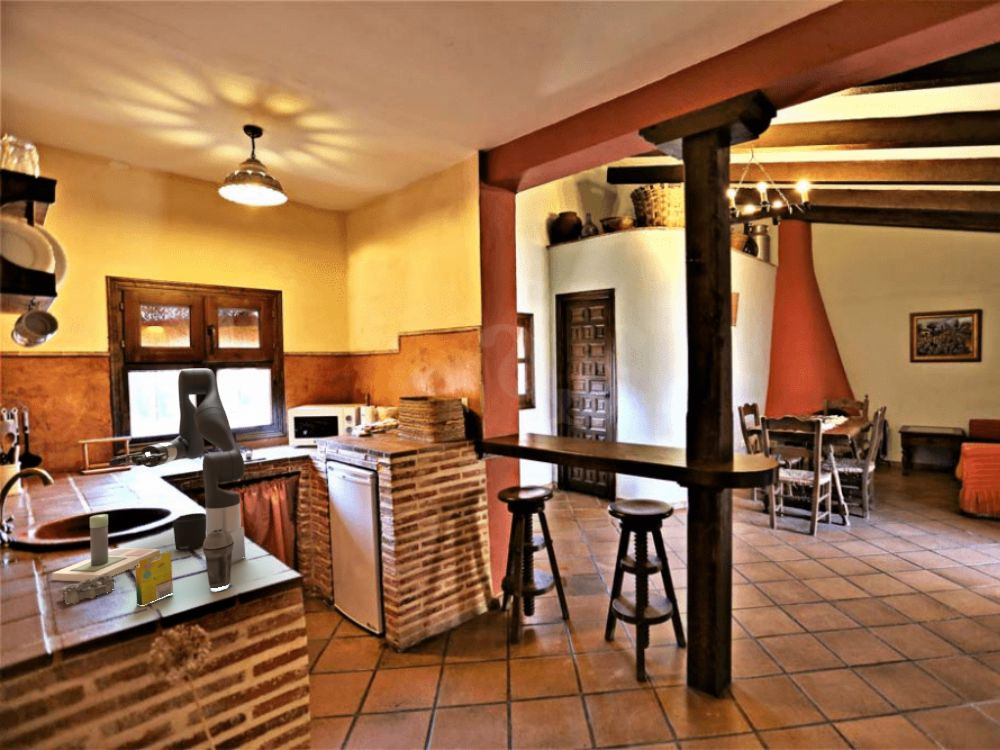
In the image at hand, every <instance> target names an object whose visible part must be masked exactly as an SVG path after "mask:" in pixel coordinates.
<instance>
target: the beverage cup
mask: <svg viewBox="0 0 1000 750" xmlns="http://www.w3.org/2000/svg"><path fill="white" fill-rule="evenodd" d="M216 522H217V530H214V531H212V532H211V533H209V534H208V535H207V534H206V538H205V540H204V543H203V547H202V550H203V554H204V557H205V564H206V571H207V579H208V585H209V589H210V588H218V587H222V586H226V585H228V584H229V583H230V584H231V576H232V575H231V574H232V573H231V572H232V564H231V560H232V550H233V544H234V542H233V538H232V536H231V534H230V533H229V532H228V531H226V530H222V529H219V516H218V512H217V513H216Z"/></svg>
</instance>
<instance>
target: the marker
mask: <svg viewBox="0 0 1000 750" xmlns="http://www.w3.org/2000/svg"><path fill="white" fill-rule="evenodd" d="M108 525H109V514H107V513H106V514H105V513H103V514H95V515H92V516H90V517H89V528H90V532H89V533H90V558H91V566H99V565H103V564H106V563H108V551H109V526H108Z"/></svg>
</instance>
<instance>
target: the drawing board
mask: <svg viewBox="0 0 1000 750" xmlns="http://www.w3.org/2000/svg"><path fill="white" fill-rule="evenodd" d="M159 554H161V549H159V548H137V547H136V548H133V547H131V548H130V547H116V548H114V549H111V550H108V563H106V564H103V565H99V566H91V557H90V558H87V559H85V560H81V561H80V562H76V563H74V564H72V565H70V566H67V567H64V568H61V569H59V570H56V571H54V572H51V579H52V581H64V582H65V581H67V582H83V581H86V580H88V579H94V578H96V577H97V578H98V577H99V576H103V575H104V574H106V573H108V574H109V575H111V577H112V576H113V577H115V576H117V575H120V574H121V572H122V573H124V572H126V570H127V571H129V570H131V569H134V568H135V566H137V565H138V566H139V564H140V562H139V561H141V560H144V559H147V558H150V557H153V556H156V555H159ZM128 569H129V570H128ZM119 573H120V574H119ZM116 574H117V575H116ZM114 575H115V576H114ZM113 577H112V578H113Z"/></svg>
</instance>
